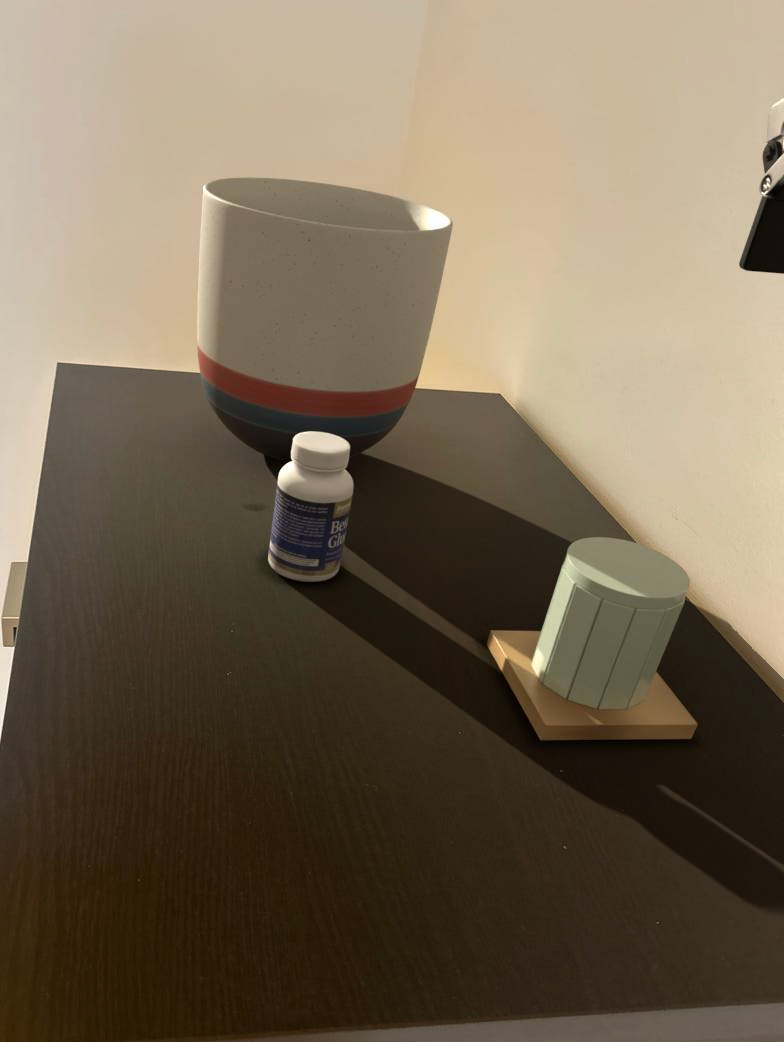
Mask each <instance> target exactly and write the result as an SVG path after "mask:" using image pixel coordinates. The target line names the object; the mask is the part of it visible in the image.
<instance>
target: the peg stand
mask: <svg viewBox="0 0 784 1042" xmlns="http://www.w3.org/2000/svg"><path fill="white" fill-rule="evenodd" d="M540 634H541V630H501V629H499V630H498V629H497V630H495V629H494V630H493V629H492V630H490V631H489V635H488V638H487V642H486V646H487V648H488V650H489V651H490V654H491V655H492V657H493V659H494V661H495V662H496V665H497V666H498V668H499V670H500V671H501V673H502V674H503V676H504V678H505V680H506V682H507V683H508V685H509V687H510V689H511V691H512V692H513V694H514V696H515V698H516V699H517V701H518V703H519V705H520V707H521V709H522V710H523V712H524V713H525V715H526V717H527V719H528V721H529V723H530V724H531V726H532V728H533V730H534V732H535V733H536V735H537V737H538V738H539V740H540V741H596V740H597V741H607V740H608V741H612V740H613V741H614V740H615V741H617V740H618V741H619V740H620V741H621V740H624V741H625V740H627V741H629V740H691V739H692V738H693V736H694V734H695V731H696V729H697V728H698V722H697V721H696V720H695V718H694V717H693V716H692V715H691V713H690V712H689V711H688V710H687V708H686V707H685V706H684V704H682V702H681V701H680V700H679V698H678V697H677V696H676V694H675V693H674V692H673V690H672V689H671V688H670V687H669V686H668V684H667V683H666V682H665V681H664V679H663V678H662V676H661V675H660V674H659V673H658V672H657V671H656V673H655V675H654V677H653V680H652V682H651V685H650V687H649V690H648V692H647V694H646V697H645V699H644V700H643V701H641V702H639V703H637V704H636V705H634V706H632V707H630V708H628V709H627V708H626V709H602V710H600V709H598V708H597V709H595V708H592V707H588V706H585V705H582V704H579V703H576V702H572V701H569V700H568V698H566V699H565V698H563V697H562V696H560V695H559V694H557V693H556V692H554V691H553V690H551V689H550V688H548V687H547V686H545V685H544V684H543V683H542V682H541V681H540V679H539V678H538V676H537V674H536V673H535V671H534V670H533V668H532V666H531V662H532V659H533V656H534V652H535V649H536V646H537V643H538V640H539V637H540Z"/></svg>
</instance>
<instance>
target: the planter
mask: <svg viewBox="0 0 784 1042" xmlns="http://www.w3.org/2000/svg"><path fill="white" fill-rule="evenodd" d="M453 226H454V222H453V220H452V218H451V217H450V216H448V215H447V214H445V213H444V212H442V211H440V210H438V209H436V208H433V207H430V206H428V205H425V204H422V203H419V202H416V201H413V200H409V199H405V198H402V197H398V196H394V195H390V194H385V193H380V192H376V191H372V190H367V189H361V188H356V187H349V186H344V185H338V184H331V183H323V182H317V181H308V180H300V179H299V180H298V179H297V180H296V179H288V178H275V177H251V176H250V177H249V176H248V177H246V176H245V177H229V178H228V177H227V178H218V179H215V180H214V179H213V180H211V181H208V182H207V183H205V184H204V185H203V188H202V201H201V218H200V238H199V253H198V254H199V256H198V280H197V281H198V282H197V321H196V322H197V323H196V325H197V326H196V330H197V331H196V332H197V333H196V334H197V335H196V346H197V360H198V367H199V375H200V379H201V383H202V386H203V387H202V388H203V391H204V393H205V396H206V400H207V401H208V403H209V405H210V407H211V409H212V411H213V412H214V413H215V415H216V417H217V418H218V419H219V421H220V422H221V423H222V424H223V425H224V427H225V428H226V429H227V430H228V431H229V432H230V433H231V434H232V435H234V437H235V438H237V440H239V441H241V442H242V443H243V444H244V445H246V446H248V448H249V447H250V448H251V449H253V450H254V451H256V452H258V453H260V454H262V455H265V456H267V457H270V458H272V459H276V460H280V461H283V462H287V463H289V462H291V461H292V459H291V449H292V443H293V438H294V437H295V435H297V434H299V433H302V432H311V431H312V432H324V433H329V434H333V435H336V436H339V437H341V438H343V439H345V440H346V441H347V442H348V443H349V444H350V454H349V459H351V458H352V457H355V456H357V455H359V454H361V453H363V452H365V451H367V450H368V449H370V448H371V447H373V446H374V445H376V444H378V443H379V442H380V441H382V440H383V439H384V438H385V437H386V436H387V435H388V434H390V432H392V430H393V429H394V428H395V427H396V425H397V424H398V422H399V421H400V419H402V417H403V415H404V413H405V411H406V409H407V407H408V405H409V404H410V402H411V399H412V397H413V395H414V392H415V390H416V387H417V384H418V380H419V377H420V374H421V370H422V366H423V362H424V358H425V355H426V351H427V347H428V343H429V338H430V335H431V330H432V326H433V321H434V317H435V314H436V308H437V304H438V299H439V294H440V291H441V286H442V280H443V276H444V271H445V266H446V261H447V256H448V252H449V247H450V241H451V235H452V231H453Z"/></svg>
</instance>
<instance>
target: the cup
mask: <svg viewBox="0 0 784 1042" xmlns="http://www.w3.org/2000/svg"><path fill="white" fill-rule="evenodd" d="M690 585H691V581H690V577H689V575H688V572H687V571H686V570H685V569H684V568H683V567H682V566H681V565H680V564H679V563H677V561H675V560H674V559H672V558H671V557H669V556H667V555H666V554H664V553H662V552H660V551H658V550H656V549H653V548H651V547H649V546H646V545H643V544H641V543H637V542H634V541H630V540H626V539H621V538H616V537H605V536H593V537H584V538H581V539H578V540H575V541H574V542H572V543H571V544H570V545H569V546H568V547H567V550H566V553H565V555H564V560H563V562H562V565H561V567H560V571H559V574H558V577H557V580H556V584H555V588H554V590H553V594H552V596H551V598H550V599H551V600H550V602H549V606H548V609H547V612H546V615H545V619H544V621H543V624H542V627H541V630H540V631H541V634H540V637H539V640H538V643H537V646H536V649H535V652H534V656H533V659H532V662H531V666H532V668H533V670H534V671H535V673H536V674H537V676H538V678H539V679H540V681H541V682H542V683H543V684H544V685H545V686H547V687H548V688H550V689H551V690H553V691H554V692H556V693H557V694H559V695H560V696H562V697H563V698H565V699H566V698H568V700H569V701H572V702H576V703H579V704H582V705H585V706H588V707H592V708H595V709H597V708H598V709H600V710H602V709H626V708H627V709H628V708H630V707H632V706H634V705H636V704H637V703H639V702H641V701H643V700H644V699H645V697H646V694H647V692H648V690H649V687H650V685H651V682H652V680H653V677H654V675H655V673H656V672H657V670H658V668H659V665H660V663H661V660H662V658H663V655H664V653H665V650H666V648H667V646H668V643H669V641H670V639H671V636H672V633H673V632H674V630H675V627H676V624H677V622H678V620H679V616H680V614H681V612H682V609H683V607H684V605H685V602H686V601H685V600H686V596H687V593H688V592H689V588H690Z"/></svg>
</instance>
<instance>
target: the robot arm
mask: <svg viewBox="0 0 784 1042" xmlns="http://www.w3.org/2000/svg"><path fill="white" fill-rule="evenodd" d="M767 116H768V117H767V128H766V129H767V132H766V145H765V147H764V148H763V151H762V157H761V158H762V165H763V172H764V174H763V176H762V177H761V179H760V181H759V184H758V193H759V194H760V195H761V198H760V202H759V205H758V207H757V210H756V213H755V215H754V218H753V222H752V225H751V226H750V227H751V228H750V230H749V233H748V236H747V239H746V241H745V244H744V248H743V249H742V253H741V256H740V259H739V263H738V266H739V267H740V269H742V270H744V271H745V272H754V273H755V272H756V273H759V272H760V273H770V274H782V275H784V98H782V99H780V100H779V101H777V102H776V103H774V104H773V105H772V106H771V108H770V110H769V112H768V115H767Z"/></svg>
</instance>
